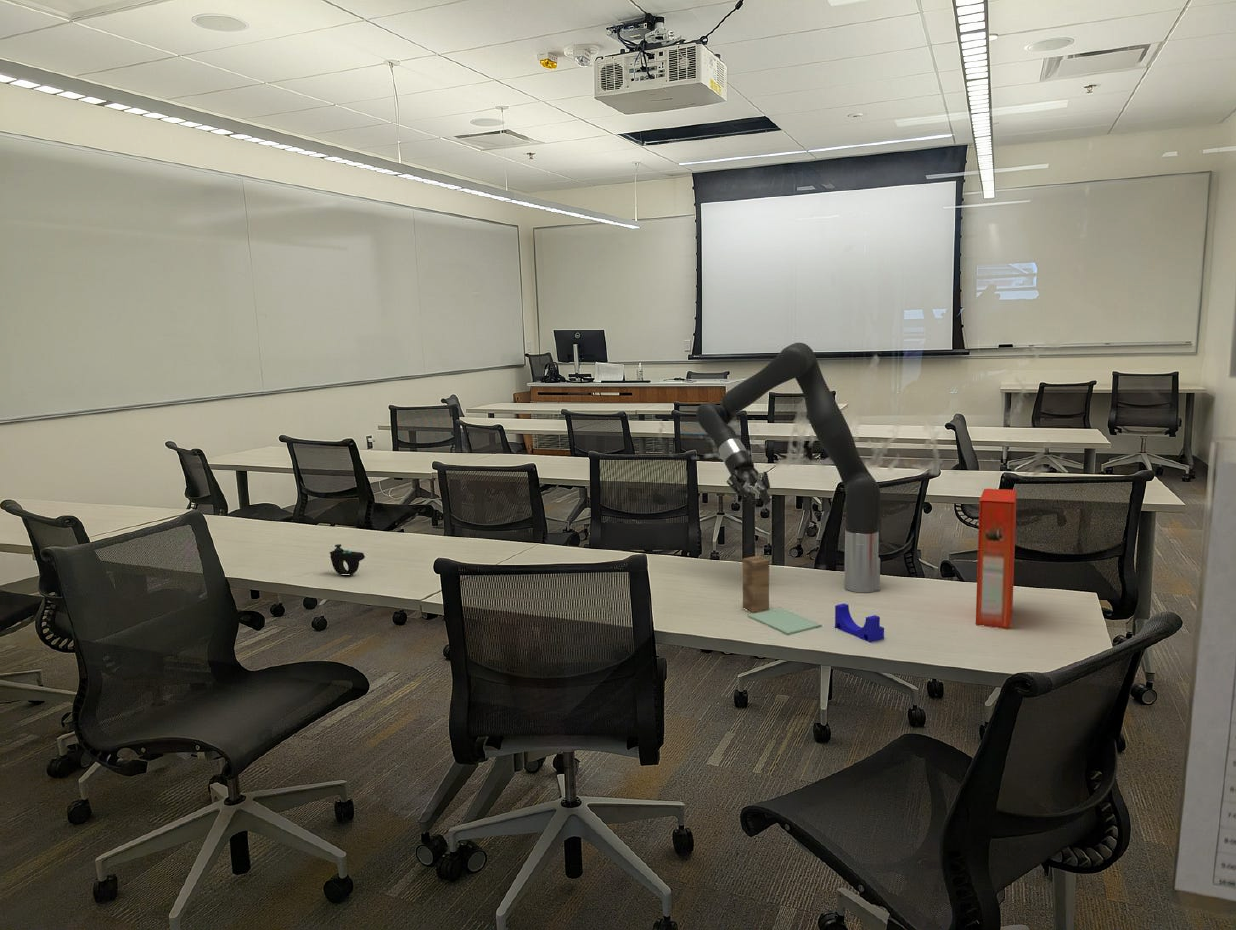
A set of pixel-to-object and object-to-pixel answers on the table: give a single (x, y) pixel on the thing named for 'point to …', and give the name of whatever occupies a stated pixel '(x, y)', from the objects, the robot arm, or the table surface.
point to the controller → (348, 556)
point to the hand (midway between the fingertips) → (761, 503)
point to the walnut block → (756, 584)
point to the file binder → (996, 557)
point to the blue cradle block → (846, 624)
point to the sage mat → (784, 621)
